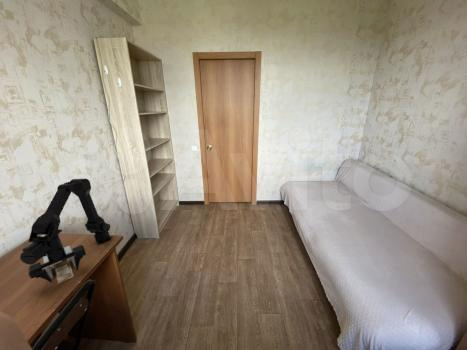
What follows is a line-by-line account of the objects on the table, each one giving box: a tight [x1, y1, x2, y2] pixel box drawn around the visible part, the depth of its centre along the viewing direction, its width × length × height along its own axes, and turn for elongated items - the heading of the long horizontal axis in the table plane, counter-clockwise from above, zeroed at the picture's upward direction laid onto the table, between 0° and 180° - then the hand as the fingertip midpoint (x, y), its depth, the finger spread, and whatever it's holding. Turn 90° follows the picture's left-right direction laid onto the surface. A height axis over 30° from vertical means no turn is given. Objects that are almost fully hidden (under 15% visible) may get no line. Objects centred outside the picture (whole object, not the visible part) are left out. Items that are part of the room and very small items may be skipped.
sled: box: [53, 258, 75, 285], centre depth 95 cm, size 6×18×6 cm, turn 46°
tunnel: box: [42, 245, 76, 279], centre depth 96 cm, size 10×8×8 cm
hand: (64, 275), depth 90 cm, fingers open, 9 cm apart
